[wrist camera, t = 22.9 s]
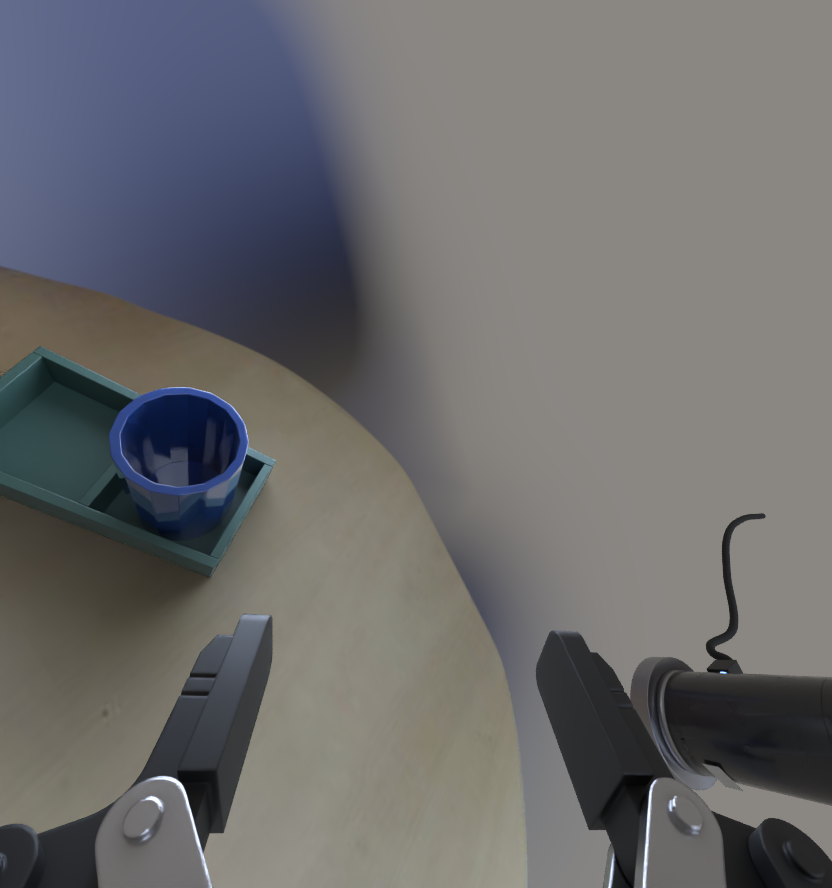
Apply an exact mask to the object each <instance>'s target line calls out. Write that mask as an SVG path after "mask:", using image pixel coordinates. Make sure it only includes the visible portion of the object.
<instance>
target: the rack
mask: <svg viewBox="0 0 832 888" xmlns="http://www.w3.org/2000/svg"><path fill="white" fill-rule="evenodd" d="M139 396H141V395H140V394H138V393H136V392H134V391H132V390H130V389H127V388H125V387H123V386H121V385H119V384H117V383H115V382H113V381H111V380H109V379H107V378H105V377H103V376H101V375H99V374H97V373H95V372H92V371H90V370H88V369H86V368H84V367H82V366H80V365H78V364H76V363H74V362H72V361H70V360H68V359H66V358H64V357H62V356H60V355H58V354H55V353H53V352H51V351H49V350H47V349H45V348H43V347H41V346H40V347H38V348H37V349H36V350H34V351H33V352H32V353H31V354H29V355H28V356H27V357H26V358H24V359H23V360H22V361H21V362H19V363H18V364H17V365H15V366H14V367H13V368H12V369H10V370H9V371H8V372H7V373H5V374H4V375H3V376H2V377H0V496H3V497H5V498H8V499H10V500H13V501H15V502H18V503H21V504H23V505H26V506H28V507H31V508H33V509H36V510H39V511H41V512H44V513H46V514H49V515H51V516H54V517H56V518H59V519H62V520H64V521H67V522H69V523H72V524H74V525H77V526H79V527H82V528H85V529H87V530H90V531H92V532H95V533H97V534H100V535H103V536H105V537H108V538H110V539H113V540H115V541H118V542H120V543H123V544H126V545H128V546H131V547H133V548H136V549H138V550H141V551H143V552H146V553H149V554H151V555H154V556H156V557H159V558H161V559H164V560H167V561H169V562H172V563H174V564H177V565H179V566H182V567H184V568H187V569H190V570H192V571H195V572H197V573H200V574H202V575H205V576H207V577H211V576H212V574H213V573H214V571H215V569H216V567H217V566H218V564H219V562H220V561H221V559H222V557H223V555H224V554H225V552H226V550H227V548H228V547H229V545H230V543H231V541H232V540H233V538H234V536H235V534H236V533H237V531H238V529H239V528H240V526H241V524H242V522H243V521H244V519H245V517H246V515H247V514H248V512H249V510H250V508H251V507H252V505H253V503H254V502H255V500H256V498H257V496H258V495H259V493H260V491H261V489H262V488H263V486H264V484H265V482H266V481H267V479H268V477H269V475H270V473H271V470H272V468H273V466H274V464H275V462H276V461H275V460H274V459H271V458H269V457H267V456H265V455H263V454H261V453H259V452H257V451H255V450H253V449H251V448H249V447H248V448H247V452H246V456H245V459H244V463H243V467H242V470H241V473H240V477H239V480H238V484H237V487H236V491H235V494H234V498H233V501H232V504H231V508H230V511H229V512H228V514H227V516H226V517H225V519H224V520H223V521H222V522H221V524H220V525H219V526H217V527H216V528H215V529H214V530H212V531H211V532H209V533H207V534H205V535H203V536H201V537H198V538H195V539H191V540H185V541H173V540H168V539H166V538H163V537H161V536H158V535H156V534H153V533H151V532H148V531H147V530H146V529H145V528H143V527H142V525H141V524H140V523H139V522H138V520H137V518H136V516H135V515H134V514H133V511H132V509H131V506H130V504H129V501H128V499H127V496H126V494H125V491H124V489H123V486H122V484H121V481H120V479H119V476H118V474H117V471H116V469H115V466H114V464H113V461H112V459H111V455H110V445H109V432H110V430H111V428H112V425H113V423H114V421H115V419H116V417H117V414H118V413H119V412H120V411H121V410H122V409H123V408H125V407H126V406H127V405H128V404H130V403H131V402H132V401H133V400H134V399H136V398H137V397H139Z"/></svg>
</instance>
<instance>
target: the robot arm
mask: <svg viewBox="0 0 832 888" xmlns="http://www.w3.org/2000/svg"><path fill="white" fill-rule="evenodd" d="M762 518H765V514H748V515H744V516H741V517H739V518H737V519H735V520H734V521H732V522H731V523H730V524H729V525H728V527H727V528H726V530H725V533H724V536H723V541H722V563H723V578H724V584H725V589H726V595H727V600H728V605H729V612H730V623H729V627H728V629H727V631H726V632H725V633H723V634H721V635H719V636H716V637H714V638H712V639H710V640H709V641H708V642H707V643H706V649H707V652H708V653H709V654H710V656H712V657H713V658H715V659H717V660H715V661H714V662H713V663H712V664H711V665H710V666H709V667H708V668H707V671H708V672H686V671H683V670H670V671H668V672H666V673H665V674H664V675H663V676H662V678H661V680H660V682H659V685H658V689H657V700H656V702H657V713H658V719H659V723H660V727H661V731H662V734H663V736H664V739H665V741H666V743H667V745H668V747H669V749H670V751H671V753H672V754H673V756H674V757H675V759H676V760H677V761H678V762H679V764H680V765H681V766H682V767H683V768H685V769H686V770H687V771H689V772H691V773H693V774H696V775H701V776H710V777H715V778H717V779H718V780H719V781H720V782H721V783H723V784H724V785H725V786H726V787H729V788H733V789H737V790H741V791H743V790H742V789H741V788H740V787H739V786H738V785H737V784H736V783H738V784H743V785H747V786H751V787H755V788H759V789H764V790H768V791H772V792H776V793H781V794H785V795H789V796H793V797H797V798H802V799H806V800H810V801H814V802H818V803H823V804H826V805H831V806H832V677H813V676H787V675H763V674H743V672H742V670H741V668H740V666H739V665H738V663H737V661H736V660H733V659H732V658H730V657H729V656H727V655H725V654H723V653H720V652H717V651H716V650H715V646H717V645H719V644H722V643H724V642H726V641H728V640H729V639H731V638H732V637H733V636H734V635H735V634H736V632H737V629H738V611H737V605H736V600H735V596H734V591H733V586H732V580H731V571H730V554H729V546H730V539H731V535H732V532H733V530H734V529H735V527H736V526H738V525H739V524H741V523H742V522H744V521H746V520H750V519H762ZM271 662H272V616H271V615H255V614H243V615H242V616H241V618H240V620H239V622H238V625H237V627H236V629H235V632H234V634H233V636H231V635H217V636H216V637H215V638H214V639H213V640H212V641H211V642H210V643H209V644H208V645H207V646H206V647H205V648H204V649H203V650H202V651H201V652H200V654H199V656H198V658H197V660H196V663H195V665H194V667H193V669H192V671H191V673H190V677H189V678H188V679H187V681H186V683H185V685H184V687H183V689H182V693H181V695H180V696H179V698H178V700H177V702H176V704H175V706H174V708H173V710H172V712H171V714H170V716H169V718H168V720H167V722H166V724H165V727H164V729H163V731H162V733H161V735H160V737H159V739H158V741H157V743H156V745H155V747H154V749H153V751H152V753H151V755H150V757H149V760H148V762H147V764H146V766H145V767H144V769H143V771H142V773H141V774H140V776H139V777H138V778H137V780H136V781H135V782H134V783H133V785H132V786H131V787H130V788H129V789H128V790H127V791H126V792H125V793H124V794H123V795H122V796H121V797H119V798H118V799H117V800H116V801H115V802H113V803H112V804H110V805H109V806H107V807H106V808H104V809H102V810H100V811H99V812H97V813H95V814H92V815H90V816H88V817H85V818H82V819H79V820H76V821H74V822H71V823H68V824H65V825H62V826H59V827H57V828H54V829H51V830H48V831H45V832H42V833H40V834H37V835H36V833H35V832H34V830H33V829H32V828H30V827H29V826H26V825H23V824H10V825H5V826H1V827H0V888H212V885H211V882H210V878H209V874H208V871H207V867H206V864H205V860H204V856H203V852H204V849H205V846H206V843H207V839H208V836H209V833H224V829H225V826H226V822H227V819H228V815H229V812H230V808H231V805H232V802H233V798H234V795H235V791H236V788H237V784H238V781H239V777H240V774H241V770H242V767H243V764H244V760H245V757H246V753H247V750H248V746H249V743H250V739H251V736H252V732H253V729H254V725H255V722H256V719H257V715H258V712H259V708H260V705H261V701H262V698H263V694H264V691H265V687H266V684H267V681H268V677H269V673H270V668H271ZM536 680H537V685H538V689H539V692H540V695H541V697H542V700H543V703H544V706H545V708H546V711H547V714H548V717H549V720H550V722H551V725H552V728H553V731H554V734H555V736H556V739H557V742H558V745H559V748H560V750H561V753H562V756H563V759H564V762H565V764H566V767H567V770H568V773H569V775H570V778H571V781H572V784H573V787H574V789H575V792H576V795H577V798H578V800H579V803H580V806H581V809H582V812H583V815H584V817H585V820H586V823H587V826H588V829H589V830H606V831H607V834H608V836H609V839H610V841H611V844H610V847H609V849H608V854H607V862H606V868H605V875H604V883H603V888H832V861H831V860H830V859H829V858H828V856H827V855H826V854H825V853H824V852H823V850H822V849H821V848H820V847H819V846H818V845H817V844H816V843H815V842H814V841H813V840H812V839H811V838H810V837H808V836H807V835H806V834H805V833H803V832H802V831H801V830H799V829H798V828H796V827H795V826H793V825H791V824H790V823H787V822H786V821H783V820H780V819H775V818H768V819H766V820H764V821H763V822H762V823H761V824H760V825H759V826H758V827H757V828H753V827H751V826H749V825H746V824H743V823H741V822H738V821H735V820H733V819H730V818H728V817H725V816H723V815H720V814H717V813H715V812H713V811H711V810H710V809H709V807H708V806H707V805H706V803H705V802H704V801H703V800H702V799H701V798H700V797H699V796H698V795H697V794H696V793H695V792H694V791H693V790H692V789H690V788H689V787H688V786H686V785H685V784H683V783H681V782H679V781H677V780H676V779H675V778H674V777H673V775H672V773H671V772H670V770H669V769H668V767H667V765H666V763H665V761H664V760H663V758H662V756H661V754H660V752H659V751H658V749H657V747H656V745H655V744H654V742H653V740H652V738H651V736H650V735H649V733H648V731H647V729H646V727H645V726H644V724H643V722H642V720H641V719H640V717H639V715H638V713H637V711H636V710H635V709H633V704H632V703H631V701H630V699H629V697H628V696H627V694H626V693H625V692H624V688H623V686H622V685H621V683H620V681H619V680H618V678H617V676H616V674H615V672H614V670H613V669H612V668H611V667H610V666H609V665H608V664H607V663H606V662H605V661H604V659H603V658H602V657H601V656H600V655H599V654H598V653H592V652H590V650H589V649H588V647H587V645H586V643H585V641H584V639H583V637H582V636H581V635H580V634H579V633H578V632H570V631H551V632H550V633H549V635H548V637H547V640H546V643H545V645H544V648H543V650H542V653H541V655H540V658H539V660H538V663H537V667H536Z"/></svg>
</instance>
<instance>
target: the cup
mask: <svg viewBox="0 0 832 888" xmlns="http://www.w3.org/2000/svg"><path fill="white" fill-rule="evenodd" d="M248 444H249V440H248V436H247V431H246V427H245V423H244V421H243V420H242V419H241V417H240V416H239V415H238V413H237V412H236V411H235V409H234V408H233V407H232V406H231V405H230V404H228V403H227V402H225V401H223V400H222V399H220V398H219V397H217V396H216V395H214V394H212V393H208V392H205V391H201V390H197V389H193V388H188V387H182V388H163V389H158V390H156V391H153V392H150V393H147V394H144V395H141V396H139V397H137V398H136V399H134V400H133V401H132V402H131V403H130V404H128V405H127V406H126V407H125V408H123V409H122V410H121V411H120V412H119V413H118V414H117V417H116V419H115V421H114V423H113V425H112V428H111V430H110V432H109V445H110V455H111V459H112V461H113V464H114V466H115V469H116V471H117V474H118V476H119V479H120V481H121V484H122V486H123V489H124V491H125V494H126V496H127V499H128V501H129V504H130V506H131V509H132V511H133V514H134V515H135V516H136V518H137V520H138V522H139V523H140V524H141V525H142V527H143V528H145V529H146V530H147V531H148V532H151V533H153V534H156V535H158V536H161V537H163V538H166V539H168V540H173V541H185V540H191V539H195V538H198V537H201V536H203V535H205V534H207V533H209V532H211V531H212V530H214V529H215V528H216V527H217V526H219V525H220V524H221V522H222V521H223V520H224V519H225V517H226V516H227V514H228V512H229V511H230V508H231V504H232V501H233V498H234V494H235V491H236V487H237V484H238V480H239V477H240V473H241V470H242V467H243V463H244V459H245V456H246V452H247V448H248Z"/></svg>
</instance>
